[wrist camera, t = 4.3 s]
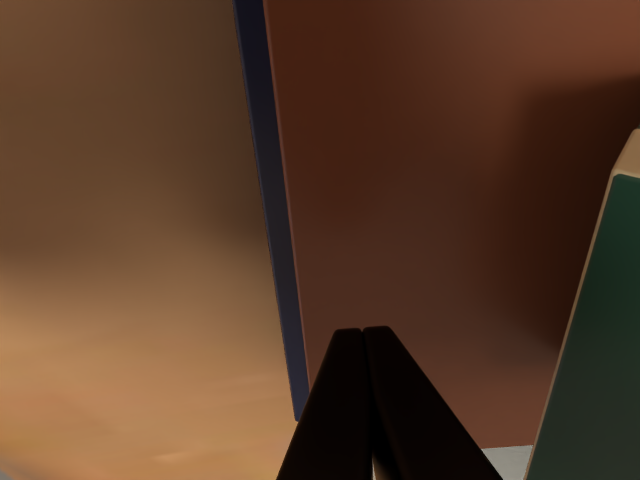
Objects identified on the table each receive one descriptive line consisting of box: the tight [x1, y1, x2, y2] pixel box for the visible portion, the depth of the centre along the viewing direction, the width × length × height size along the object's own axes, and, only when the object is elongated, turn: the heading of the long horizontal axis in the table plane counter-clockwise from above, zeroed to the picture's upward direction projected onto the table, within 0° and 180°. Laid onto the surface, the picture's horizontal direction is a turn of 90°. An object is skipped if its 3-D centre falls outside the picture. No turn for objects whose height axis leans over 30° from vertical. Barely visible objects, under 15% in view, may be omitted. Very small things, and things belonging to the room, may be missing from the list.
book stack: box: [232, 0, 640, 449], centre depth 12 cm, size 6×14×4 cm, turn 4°
